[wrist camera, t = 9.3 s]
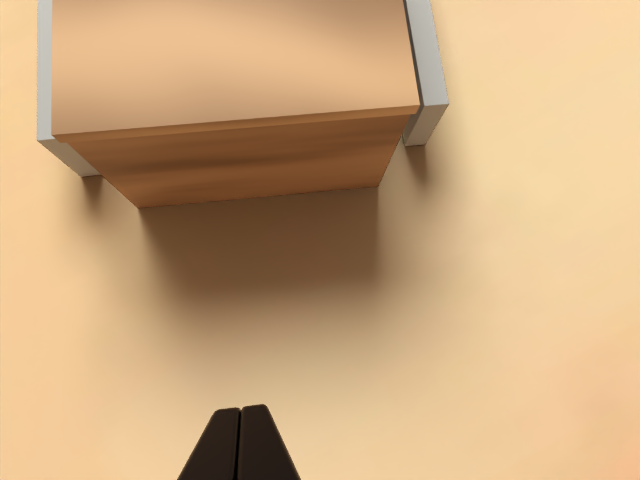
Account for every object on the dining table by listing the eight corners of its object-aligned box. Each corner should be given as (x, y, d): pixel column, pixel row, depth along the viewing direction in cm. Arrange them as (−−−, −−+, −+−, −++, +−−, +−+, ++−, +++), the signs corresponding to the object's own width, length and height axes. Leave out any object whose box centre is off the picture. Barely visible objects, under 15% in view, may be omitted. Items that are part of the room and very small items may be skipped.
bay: (425, 144, 24) (449, 103, 21) (80, 176, 23) (36, 140, 20) (393, -44, 27) (409, -113, 23) (77, -22, 26) (37, -90, 22)
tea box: (380, 188, 24) (419, 104, 16) (136, 211, 23) (51, 135, 15) (353, -2, 26) (376, -158, 18) (130, 14, 26) (53, -142, 18)
